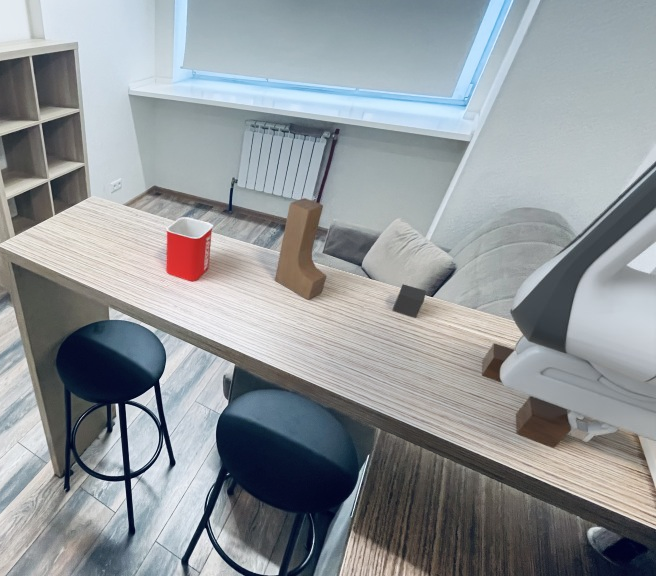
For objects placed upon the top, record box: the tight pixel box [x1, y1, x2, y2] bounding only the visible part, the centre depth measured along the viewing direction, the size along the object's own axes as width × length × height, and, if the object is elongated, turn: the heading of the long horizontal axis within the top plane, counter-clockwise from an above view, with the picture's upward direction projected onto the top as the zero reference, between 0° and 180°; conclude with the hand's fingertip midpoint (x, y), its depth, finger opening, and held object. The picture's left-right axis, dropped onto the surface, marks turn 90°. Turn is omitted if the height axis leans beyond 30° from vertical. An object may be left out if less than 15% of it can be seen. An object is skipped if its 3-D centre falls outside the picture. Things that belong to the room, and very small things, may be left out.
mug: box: [165, 216, 214, 282], centre depth 90 cm, size 12×8×11 cm
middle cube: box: [481, 342, 515, 383], centre depth 64 cm, size 4×4×4 cm
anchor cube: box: [392, 284, 427, 319], centre depth 78 cm, size 4×4×4 cm
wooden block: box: [274, 197, 328, 301], centre depth 81 cm, size 9×4×18 cm, turn 34°
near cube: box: [515, 396, 571, 449], centre depth 55 cm, size 4×4×4 cm
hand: (573, 434), depth 54 cm, fingers closed
